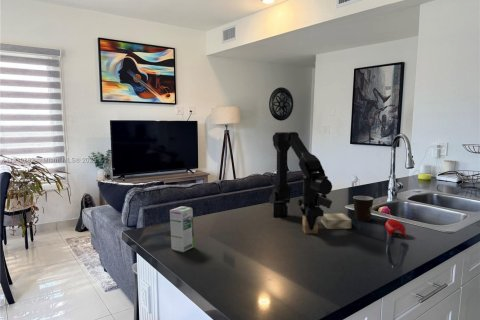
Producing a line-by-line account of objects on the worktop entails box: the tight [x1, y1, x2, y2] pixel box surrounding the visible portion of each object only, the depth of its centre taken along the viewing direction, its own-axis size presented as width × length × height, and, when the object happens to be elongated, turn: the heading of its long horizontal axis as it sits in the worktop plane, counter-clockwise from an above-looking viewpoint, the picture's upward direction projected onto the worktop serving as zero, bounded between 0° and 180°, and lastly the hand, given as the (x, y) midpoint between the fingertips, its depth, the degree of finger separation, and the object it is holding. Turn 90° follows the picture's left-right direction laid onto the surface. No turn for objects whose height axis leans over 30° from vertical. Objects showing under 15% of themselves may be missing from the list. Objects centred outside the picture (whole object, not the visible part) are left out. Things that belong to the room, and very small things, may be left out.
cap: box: [384, 219, 407, 238], centre depth 127 cm, size 8×6×6 cm
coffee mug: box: [352, 195, 375, 223], centre depth 148 cm, size 12×9×10 cm
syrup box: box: [169, 205, 195, 253], centre depth 115 cm, size 6×6×14 cm
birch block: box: [320, 213, 352, 230], centre depth 140 cm, size 10×10×4 cm
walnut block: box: [302, 214, 319, 234], centre depth 132 cm, size 5×5×6 cm
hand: (309, 227), depth 132 cm, fingers closed on walnut block, 5 cm apart
